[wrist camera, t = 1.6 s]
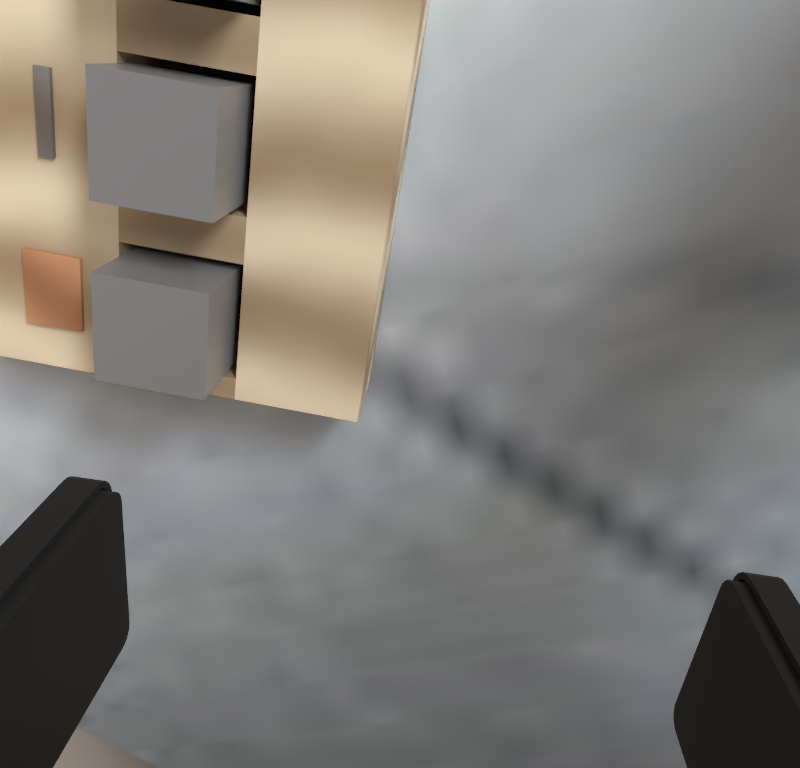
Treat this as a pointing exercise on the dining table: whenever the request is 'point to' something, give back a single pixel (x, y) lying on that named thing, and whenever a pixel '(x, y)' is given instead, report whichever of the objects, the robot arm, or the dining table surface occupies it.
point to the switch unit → (265, 203)
